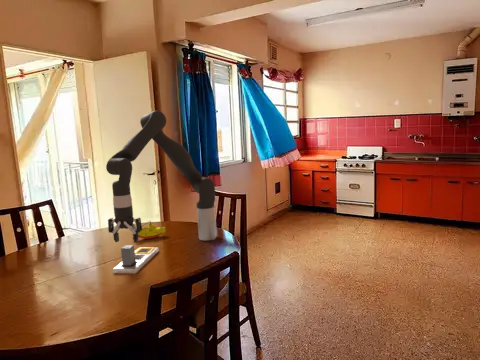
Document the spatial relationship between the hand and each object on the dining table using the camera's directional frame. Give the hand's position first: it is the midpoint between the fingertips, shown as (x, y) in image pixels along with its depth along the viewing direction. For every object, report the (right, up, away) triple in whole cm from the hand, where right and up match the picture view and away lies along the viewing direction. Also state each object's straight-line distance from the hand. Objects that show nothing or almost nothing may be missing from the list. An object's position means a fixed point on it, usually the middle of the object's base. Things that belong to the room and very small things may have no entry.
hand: (126, 241), depth 150 cm
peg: (+1, -12, +2) cm, 12 cm away
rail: (+2, -11, +10) cm, 15 cm away
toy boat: (-1, -6, +43) cm, 44 cm away
